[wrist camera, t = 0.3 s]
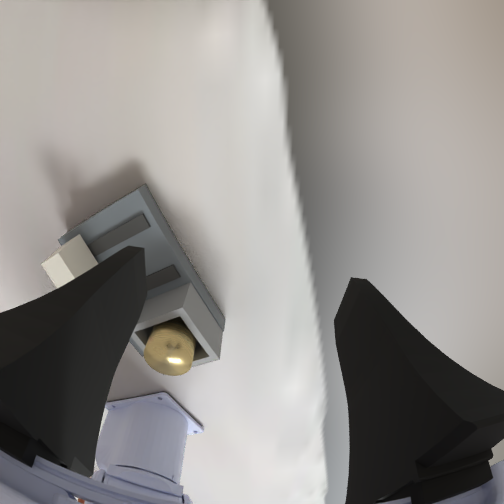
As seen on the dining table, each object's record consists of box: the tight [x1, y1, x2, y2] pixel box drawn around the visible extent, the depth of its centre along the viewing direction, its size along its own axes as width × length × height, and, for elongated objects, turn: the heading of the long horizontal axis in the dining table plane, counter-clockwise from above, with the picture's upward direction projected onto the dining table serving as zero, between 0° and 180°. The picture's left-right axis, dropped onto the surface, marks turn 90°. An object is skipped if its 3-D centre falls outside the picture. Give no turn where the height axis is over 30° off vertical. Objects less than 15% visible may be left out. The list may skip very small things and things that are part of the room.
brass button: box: [144, 316, 197, 376], centre depth 20 cm, size 3×3×3 cm
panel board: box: [58, 184, 225, 375], centre depth 21 cm, size 8×12×4 cm, turn 25°
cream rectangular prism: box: [41, 234, 98, 289], centre depth 18 cm, size 2×3×3 cm, turn 25°
